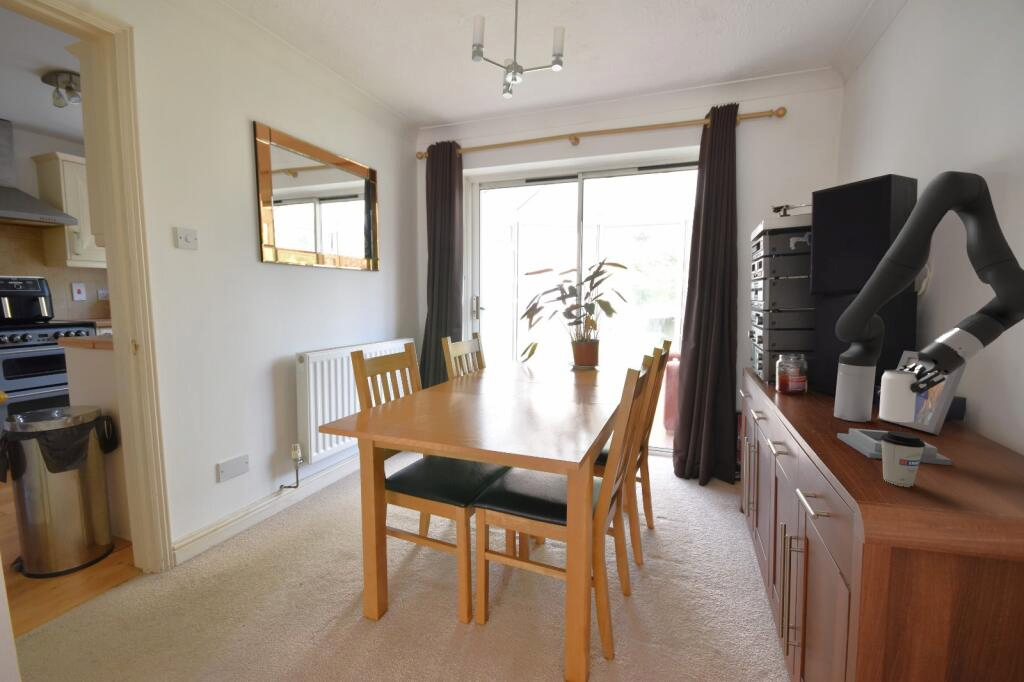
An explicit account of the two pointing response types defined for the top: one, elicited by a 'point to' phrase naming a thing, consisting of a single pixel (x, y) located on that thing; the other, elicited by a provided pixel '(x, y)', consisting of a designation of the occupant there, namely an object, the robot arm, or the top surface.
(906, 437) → the coffee cup
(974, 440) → the top surface
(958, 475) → the top surface
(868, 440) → the can dock
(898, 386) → the can
